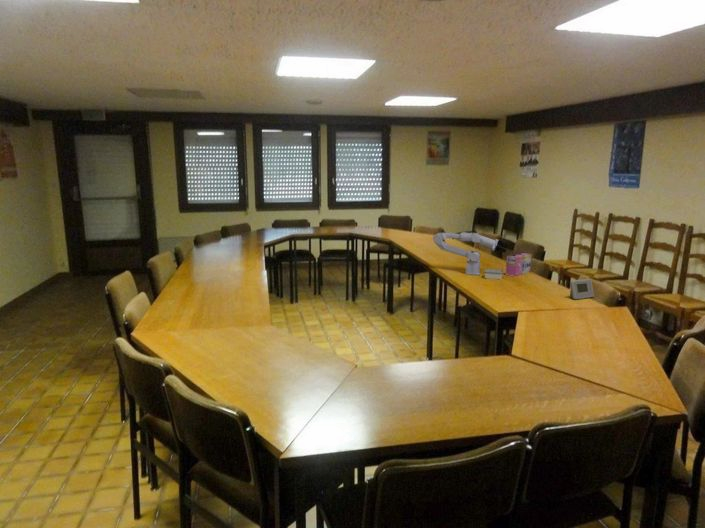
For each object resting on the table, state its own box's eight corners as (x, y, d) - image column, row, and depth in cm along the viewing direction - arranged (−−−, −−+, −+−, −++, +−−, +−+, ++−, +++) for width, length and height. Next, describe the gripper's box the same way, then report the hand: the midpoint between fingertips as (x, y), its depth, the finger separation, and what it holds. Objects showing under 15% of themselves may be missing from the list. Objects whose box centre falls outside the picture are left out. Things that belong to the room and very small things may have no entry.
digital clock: (573, 300, 273) (575, 282, 270) (563, 296, 281) (565, 278, 279) (598, 299, 276) (600, 281, 274) (587, 295, 285) (589, 277, 283)
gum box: (521, 270, 351) (522, 251, 348) (531, 271, 345) (533, 253, 343) (504, 274, 335) (506, 255, 332) (515, 276, 329) (517, 257, 326)
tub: (484, 278, 322) (485, 272, 321) (484, 276, 330) (485, 270, 329) (501, 280, 319) (502, 274, 318) (501, 277, 327) (502, 271, 326)
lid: (484, 272, 321) (485, 266, 320) (484, 269, 329) (485, 264, 328) (506, 274, 317) (506, 268, 316) (505, 271, 325) (506, 265, 325)
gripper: (487, 241, 321) (507, 248, 317) (491, 233, 333) (510, 239, 329) (484, 250, 325) (503, 257, 321) (488, 241, 336) (507, 248, 332)
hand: (507, 248), depth 325 cm, fingers open, 7 cm apart
